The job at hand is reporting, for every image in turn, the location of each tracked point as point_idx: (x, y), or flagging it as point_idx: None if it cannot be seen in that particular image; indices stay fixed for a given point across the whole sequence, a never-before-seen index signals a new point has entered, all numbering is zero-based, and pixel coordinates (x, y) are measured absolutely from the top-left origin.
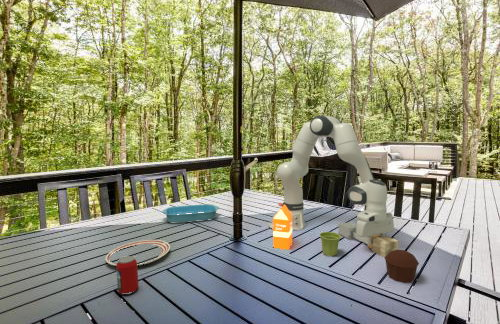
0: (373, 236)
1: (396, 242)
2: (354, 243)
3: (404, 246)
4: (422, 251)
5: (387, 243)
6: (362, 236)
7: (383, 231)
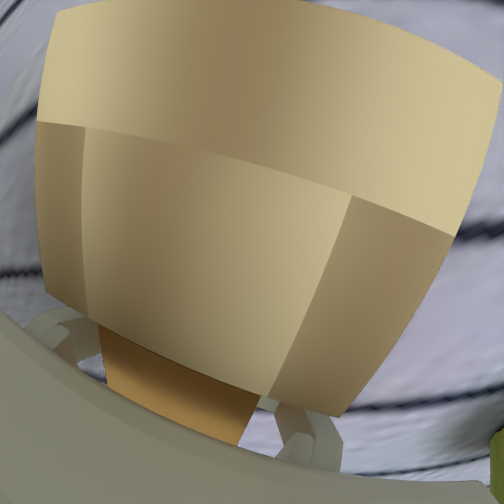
0: (217, 420)
1: (115, 6)
2: (273, 425)
3: (23, 144)
4: (21, 30)
5: (429, 42)
6: (489, 492)
7: (21, 365)
